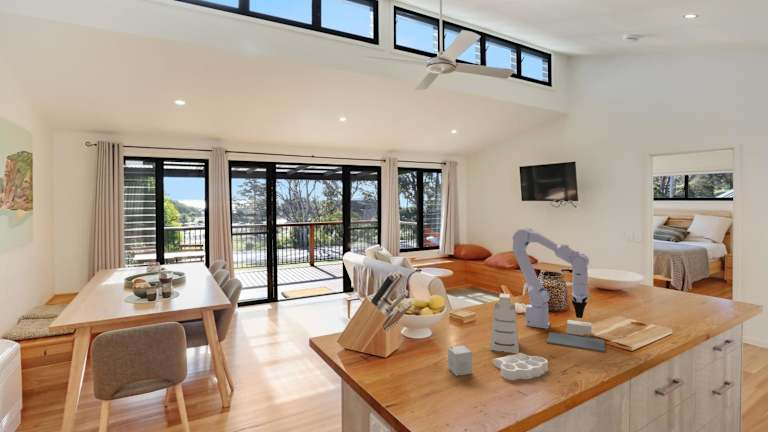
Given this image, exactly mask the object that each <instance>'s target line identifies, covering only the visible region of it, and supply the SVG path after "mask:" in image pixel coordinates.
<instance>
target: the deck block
mask: <svg viewBox="0 0 768 432" xmlns="http://www.w3.org/2000/svg"><path fill="white" fill-rule="evenodd" d="M566 334H567V335H574V336H581V337H584V336H583V335H584V334H591V335H592V322H587V321H578V320H572V319H567V323H566Z"/></svg>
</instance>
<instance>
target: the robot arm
mask: <svg viewBox="0 0 768 432" xmlns="http://www.w3.org/2000/svg"><path fill="white" fill-rule="evenodd" d="M530 243H537V244H540V245H542V246H543V247H545V248H547V249H549V250H550V251H552V252H554V255H555V256H556V257H558V258H559V259H561V260H562V261H564V262H566V263H568V264H570V266H571V267H572V272H571V273H572V274H571V275H572V277H571V278H572V280H571V284H572V285H571V296H572V298H573V299H572V300H571V303H572V306H573V308H574V313H575V316H576V319H583V316H584V311H585V308H586V306H587V304H588V302H587V300H588V297H592V295H591V294H590V293H588V288H589V287H588V282H589V280H588V277H589V275H588V274H589V273H588V265H589V263H590V259H589V257H588V256H587V255H586V254H584V253H580V251H577V250H576V251H575V250H574V249H572V248H570V247H569V244H557V243H555V242H554V241H553V240H551V239H550V238H547V237H546V236H545V235H543V234H542V233H540V232H538V231H537V230H535V229H534V230H533V229H532V228H531V227H525V228H523V229H522V228H521V229H518V230H516V231H515V232H514V234H513V236H512V252H513V254H514V257H515V260H516V261H517V263H518V266H519V268H520V271H521V272H522V275H523V278H524V280H525V282H526V284H527V286H528V288H527V292H528V295H529V297H528V299H529V303H530V304H528V303H527V304H526V305H525V324H524V325H525V326H526V327H532V328H541V329H547V330H548V329H549V328H550V324H551V322H549V303H548V301H550V299H551V295H550V293H549V291H548V290H546V288H545V287H544V285H543V284H542V283H541V282H540V280H539V278H538V276H537V273H536V270H535V269H534V266H533V265H532V262H531V259H530V257H529V255H528V253H527V248H528V245H530Z"/></svg>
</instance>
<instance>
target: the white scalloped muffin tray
mask: <svg viewBox="0 0 768 432" xmlns="http://www.w3.org/2000/svg"><path fill="white" fill-rule="evenodd" d="M492 363H493V365H494V366H495V367H496V368H498V369H500V376H501V377H502V378H504V379H506V380H510V381H516V380H531V379H533V378H538V377H540V376H542V375H544V374H546V372H548V371H549V361H548V359H547V358H545V357H542V356H538V355H532V356H531V355H527V354H525V353H523V352H519V353H513V354H510V355H505V356H502V357H497V358H493V360H492Z"/></svg>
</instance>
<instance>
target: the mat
mask: <svg viewBox="0 0 768 432" xmlns="http://www.w3.org/2000/svg"><path fill="white" fill-rule="evenodd" d="M546 344H552V345H557V346H562V347H569V348H575V349H583V350H587V351H588V350H589V351H594V352H602V353H606V347H605V340H604V339H600V338H593V337H588V336H582V335H575V334H568V333H566V334H565V333H559V332H551V331H549V332H548V335H547V339H546Z"/></svg>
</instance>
